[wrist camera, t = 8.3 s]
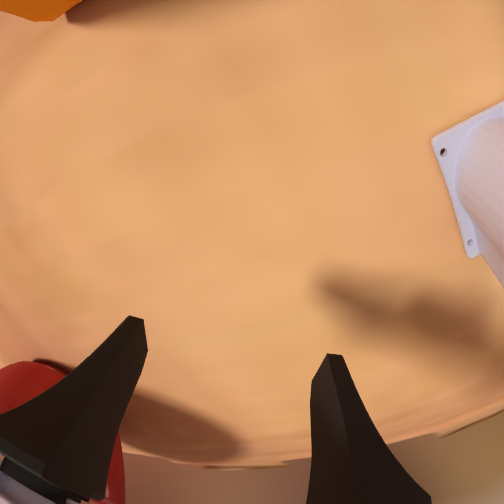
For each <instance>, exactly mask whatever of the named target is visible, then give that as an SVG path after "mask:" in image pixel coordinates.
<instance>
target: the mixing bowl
mask: <svg viewBox="0 0 504 504" xmlns="http://www.w3.org/2000/svg"><path fill="white" fill-rule="evenodd" d="M67 375H68V373H66V372H65V371H63V370H61V369H59V368H57V367H54V366H52V365H49V364H45V363H36V362H29V361H22V362H17V363H14V364H11V365H8V366H6V367H4V368H2V369H0V414H2V413H4V412H7V411H9V410H11V409H13V408H16V407H18V406H20V405H22V404H23V403H25V402H27V401H29V400H31V399H32V398H34V397H36V396H38V395H39V394H41V393H43V392H44V391H46V390H47V389H49V388H50V387H51V386H53V385H54V384H56V383H57V382H59V381H60V380H61V379H63V378H64V377H65V376H67ZM89 501H91V502H94V503H96V504H125V473H124V462H123V453H122V446H121V441H120V436H119V431H118V434H117V437H116V441H115V445H114V449H113V453H112V458H111V463H110V468H109V473H108V478H107V485H106V492H105V498H104V499H103V500H100V501H96V500H93V499H91V498H90V500H89Z"/></svg>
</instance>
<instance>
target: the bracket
mask: <svg viewBox="0 0 504 504" xmlns="http://www.w3.org/2000/svg"><path fill="white" fill-rule="evenodd" d="M81 1H82V0H0V10H1V11H4V12H7V13H10V14H13V15H16V16H19V17H22V18H25V19H28V20H31V21H33V22H35V21H54V20H55V19H57V18H58V17H59V16H61V15H62V14H63V13H65V12H66V11H68V10H69V9H70V8H72V7H73V6H75V5H76V4H78V3H79V2H81Z"/></svg>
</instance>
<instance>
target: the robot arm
mask: <svg viewBox="0 0 504 504" xmlns="http://www.w3.org/2000/svg"><path fill="white" fill-rule="evenodd" d="M431 146H432V149H433V151H434V154H435V156H436V159H437V162H438V164H439V167H440V170H441V172H442V175H443V178H444V181H445V184H446V187H447V190H448V193H449V196H450V199H451V202H452V205H453V208H454V212H455V215H456V219H457V222H458V226H459V229H460V233H461V237H462V241H463V245H464V249H465V253H466V255H467V257H468V258H474V257H475V256H477V255H479V254H481V256H482V257H483V258H484V260H485V261H486V263H487V264H488V265H489V267H490V268H491V270H492V271H493V273H494V274H495V276H496V277H497V279H498V280H499V282H500V283H501V285H502V286H503V288H504V101H502V102H500V103H498V104H496V105H494V106H492V107H490V108H488V109H486V110H484V111H482V112H480V113H478V114H476V115H474V116H472V117H470V118H468V119H467V120H465V121H463V122H461V123H459V124H457V125H455V126H453V127H451V128H449V129H447V130H445V131H444V132H442V133H440V134H438V135H436V136H434V137H433V139H432V141H431ZM442 148H444V149H445V152H444V153H443V154H442V155H440V151H441V149H442ZM470 239H471V241H470V242H468V241H469V240H470ZM147 352H148V347H147V341H146V334H145V327H144V319H141V318H137V317H133V316H128V317H127V318H126V319H125V320H124V321H123V322H122V323H121V324H120V325H119V326H118V327H117V328H116V330H115V331H114V332H113V333H112V334H111V335H110V336H109V337H108V338H107V339H106V340H105V341H104V342H103V343H102V344H101V345H100V346H99V347H98V348H97V349H96V350H95V351H94V352H93V353H92V354H91V355H90V356H89V357H87V358H86V359H85V360H84V361H83V362H82V363H81V364H80V365H79V366H77V367H76V368H75V369H74V370H73V371H71V372H70V373H69V374H68V375H67V376H65V377H64V378H63V379H61V380H60V381H59V382H57V383H56V384H54V385H53V386H51V387H50V388H49V389H47V390H46V391H44V392H43V393H41V394H39V395H38V396H36V397H34V398H32V399H31V400H29V401H27V402H25V403H23V404H22V405H20V406H18V407H16V408H13V409H11V410H9V411H7V412H4V413H2V414H0V453H1V454H2V455H3V456H5V457H4V459H3V461H2V460H1V459H0V504H80V502H81V499H82V500H84V501H86V502H89V500H90V498H91V499H93V500H96V501H100V500H103V499H104V498H105V492H106V485H107V478H108V473H109V468H110V463H111V458H112V453H113V449H114V445H115V441H116V437H117V434H118V430H119V426H120V423H121V420H122V417H123V415H124V412H125V410H126V408H127V405H128V403H129V400H130V398H131V396H132V393H133V391H134V389H135V386H136V384H137V382H138V379H139V377H140V375H141V372H142V369H143V366H144V362H145V359H146V355H147ZM310 416H311V442H312V461H311V471H310V480H309V488H308V495H307V501H306V504H432V502H431V496H430V495H429V494H428V493H427V492H426V491H424V490H423V489H422V488H421V487H420V486H419V485H418V484H417V483H416V482H415V481H414V480H413V478H412V477H411V476H410V475H409V474H408V473H407V472H406V471H405V469H404V468H403V467H402V465H401V464H400V463H399V462H398V460H397V459H396V458H395V457H394V455H393V454H392V452H391V451H390V450H389V448H388V447H387V445H386V444H385V442H384V441H383V439H382V437H381V436H380V434H379V433H378V431H377V429H376V427H375V426H374V424H373V422H372V420H371V418H370V416H369V414H368V412H367V410H366V408H365V406H364V404H363V402H362V400H361V398H360V396H359V394H358V391H357V389H356V387H355V385H354V382H353V380H352V378H351V375H350V373H349V370H348V368H347V365H346V363H345V360H344V358H343V356H342V355H336V354H328V353H327V355H326V357H325V359H324V360H323V362H322V364H321V366H320V367H319V369H318V371H317V373H316V374H315V376H314V378H313V380H312V384H311V397H310Z"/></svg>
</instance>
